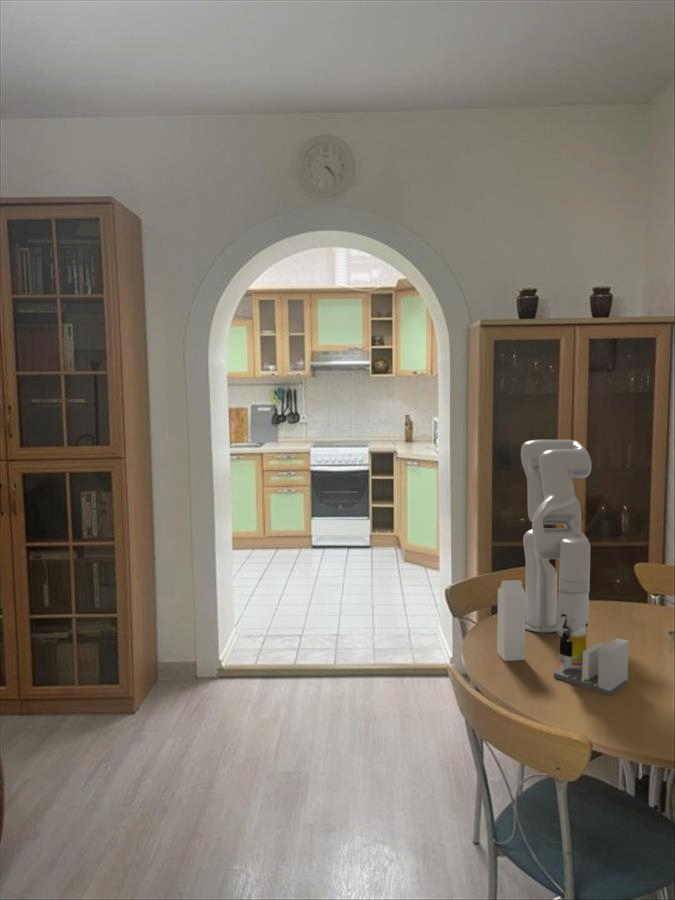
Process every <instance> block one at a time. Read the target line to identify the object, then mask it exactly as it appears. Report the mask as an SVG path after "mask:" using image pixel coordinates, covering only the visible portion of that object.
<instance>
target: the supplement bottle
mask: <svg viewBox="0 0 675 900" xmlns="http://www.w3.org/2000/svg"><path fill="white" fill-rule="evenodd" d="M580 624H582V621H581V623H580ZM565 628H566V629H569V627H567V626H565ZM586 629H587V628H586ZM586 629H585V628H584V627H581V626H580V628H579V629H577V630H575V631H573V633H572V637H571V642H572V656H571V657H568V656H565V655H562V654H560V647H559V648H558V649H559V652H558V654H559V656H558V657H559V664H561V666H563V667H568V668H573V669H579V668H582V664H583V651H584V650H586V649H587V633H586ZM564 633H566V635H567V636H568V632H567V631H564Z"/></svg>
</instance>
